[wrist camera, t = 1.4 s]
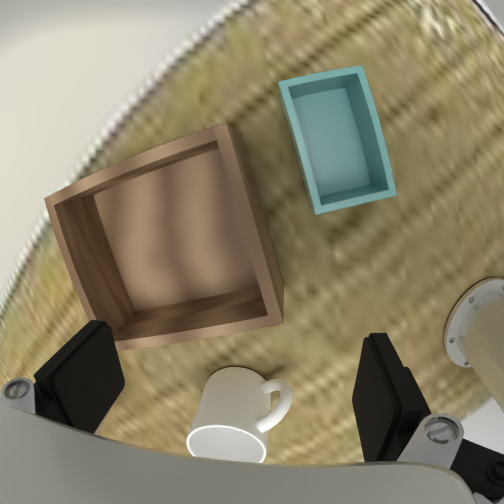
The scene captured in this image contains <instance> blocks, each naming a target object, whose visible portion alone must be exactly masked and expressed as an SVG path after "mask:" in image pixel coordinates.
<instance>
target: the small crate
mask: <svg viewBox="0 0 504 504" xmlns="http://www.w3.org/2000/svg"><path fill="white" fill-rule="evenodd" d="M278 87H279V97H280V101H281V104H282V107H283V110H284V114H285V117H286V120H287V124H288V127H289V131H290V134H291V137H292V141H293V144H294V148H295V152H296V155H297V159H298V162H299V166H300V170H301V173H302V177H303V181H304V185H305V189H306V193H307V196H308V200H309V204H310V206H311V208H312V210H313V211H314V213H315V215H317V214H321V213H325V212H329V211H334V210H338V209H342V208H346V207H350V206H354V205H359V204H363V203H367V202H371V201H375V200H380V199H384V198H388V197H393V196H397V194H396V189H395V184H394V179H393V174H392V169H391V165H390V161H389V156H388V152H387V148H386V144H385V140H384V136H383V132H382V128H381V125H380V121H379V118H378V114H377V111H376V107H375V104H374V101H373V97H372V94H371V91H370V88H369V85H368V82H367V79H366V76H365V73H364V70H363V67H362V66H355V67H349V68H343V69H337V70H331V71H326V72H320V73H315V74H310V75H306V76H301V77H297V78H292V79H288V80H284V81H279V82H278Z"/></svg>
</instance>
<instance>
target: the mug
mask: <svg viewBox="0 0 504 504" xmlns="http://www.w3.org/2000/svg"><path fill="white" fill-rule="evenodd" d="M276 390H279V391H280V397H279V400H278V402H277V404H276V406H275V407H274V408H273V409H272V411H270V404H271V392H273V391H276ZM292 396H293V393H292V388H291V386H290V384H289V383H288V382H287V381H285V380H283V379H273V380H269V381H267V382H266V381H265V379H264V378H263V377H262V376H260V375H259V374H257V373H256V372H254V371H252V370H249V369H246V368H241V367H228V368H224V369H221V370H219V371H217V372H215V373H214V374H212V375H211V377H210V378H209V379H208V381H207V383H206V385H205V388H204V390H203V393H202V396H201V399H200V402H199V405H198V408H197V411H196V413H195V416H194V419H193V422H192V425H191V428H190V431H189V434H188V437H187V441H186V442H187V447H188V450H189V451H190V453H191V454H192V455H193V456H196V457H203V458H211V459H219V460H229V461H239V462H253V463H262V462H263V460H264V459H265V457H266V452H267V441H268V430H269V429H271V428H272V427H274V426H275V425H276V424H277V423H279V422H280V421H281V420H282V418H283V417H284V416H285V415H286V413H287V412H288V410H289V408H290V405H291V402H292Z"/></svg>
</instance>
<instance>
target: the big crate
mask: <svg viewBox="0 0 504 504" xmlns="http://www.w3.org/2000/svg"><path fill="white" fill-rule="evenodd" d="M44 199H45V203H46V207H47V210H48V213H49V217H50V220H51V223H52V227H53V230H54V233H55V236H56V239H57V242H58V245H59V248H60V250H61V253H62V256H63V259H64V262H65V264H66V267H67V270H68V272H69V275H70V277H71V280H72V282H73V285H74V287H75V290H76V292H77V294H78V297H79V299H80V302H81V304H82V306H83V308H84V311H85V313H86V315H87V317H88V319H89V322H90V321H91V320H101V321H106V322H107V324H108V325H109V326H110V327H111V329H112V333H113V338H114V342H115V346H116V350H117V351H118V350H127V349H135V348H143V347H150V346H158V345H165V344H172V343H178V342H185V341H191V340H198V339H204V338H210V337H216V336H221V335H227V334H232V333H238V332H243V331H248V330H254V329H259V328H264V327H269V326H274V325H278V324H283V303H284V285H283V281H282V278H281V274H280V270H279V267H278V263H277V259H276V255H275V252H274V248H273V244H272V241H271V237H270V233H269V230H268V226H267V222H266V219H265V215H264V212H263V208H262V205H261V201H260V197H259V194H258V190H257V187H256V183H255V180H254V176H253V173H252V169H251V166H250V162H249V159H248V155H247V152H246V148H245V145H244V141H243V138H242V135H241V132H239V131H238V130H236V129H235V128H233V127H232V126H230V125H229V124H227V123H224V124H221V125H218V126H215V127H212V128H209V129H206V130H203V131H200V132H197V133H194V134H191V135H188V136H185V137H182V138H179V139H177V140H174V141H171V142H169V143H166V144H163V145H161V146H158V147H155V148H153V149H150V150H148V151H145V152H143V153H140V154H138V155H135V156H133V157H130V158H128V159H126V160H123V161H121V162H119V163H116V164H114V165H112V166H110V167H107V168H105V169H103V170H101V171H98V172H96V173H94V174H92V175H90V176H88V177H86V178H83V179H81V180H79V181H77V182H75V183H73V184H71V185H69V186H67V187H65V188H63V189H61V190H59V191H57V192H55V193H53V194H52V195H50V196H48V197H46V198H44Z"/></svg>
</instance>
